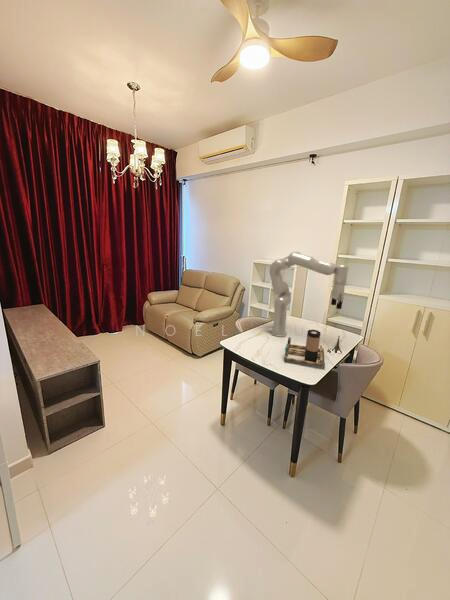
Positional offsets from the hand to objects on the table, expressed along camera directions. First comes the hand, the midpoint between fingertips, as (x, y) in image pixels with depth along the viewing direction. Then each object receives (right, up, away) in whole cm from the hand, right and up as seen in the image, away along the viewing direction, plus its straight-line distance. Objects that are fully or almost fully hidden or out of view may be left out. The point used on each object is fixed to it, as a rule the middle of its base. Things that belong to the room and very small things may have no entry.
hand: (336, 306), depth 171 cm
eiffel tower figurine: (-1, -32, -2) cm, 32 cm away
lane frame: (-26, -32, -11) cm, 43 cm away
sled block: (-24, -31, -5) cm, 39 cm away
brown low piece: (-28, -34, -16) cm, 47 cm away
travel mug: (-24, -34, -18) cm, 45 cm away
